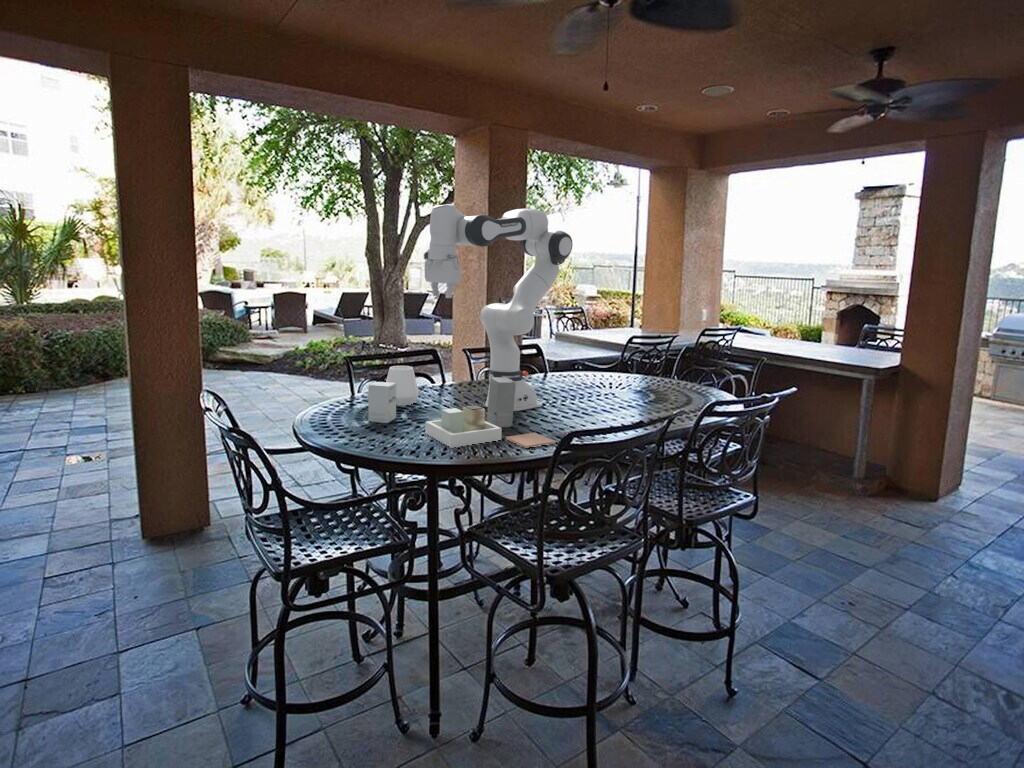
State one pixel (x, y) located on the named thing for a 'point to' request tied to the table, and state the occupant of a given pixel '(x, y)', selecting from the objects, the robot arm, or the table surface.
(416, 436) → the table surface
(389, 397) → the supplement box
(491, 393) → the skincare box
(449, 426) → the plain block
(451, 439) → the bin
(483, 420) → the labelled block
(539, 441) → the tile
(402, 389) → the cup
